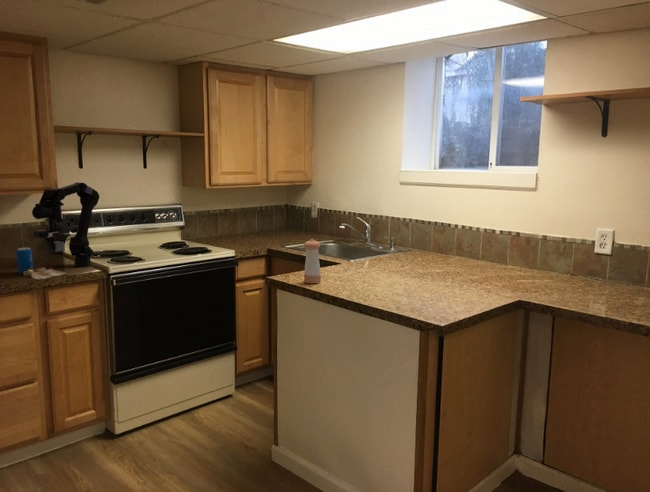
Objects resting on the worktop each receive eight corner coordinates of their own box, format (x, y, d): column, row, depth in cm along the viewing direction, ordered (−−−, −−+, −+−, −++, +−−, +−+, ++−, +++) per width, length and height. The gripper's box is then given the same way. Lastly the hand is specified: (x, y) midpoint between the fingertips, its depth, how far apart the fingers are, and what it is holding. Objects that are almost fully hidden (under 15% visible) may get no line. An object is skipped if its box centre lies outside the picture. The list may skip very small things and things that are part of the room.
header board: (52, 271, 265) (51, 265, 264) (68, 275, 258) (68, 268, 257) (23, 277, 253) (22, 271, 252) (39, 281, 246) (38, 274, 245)
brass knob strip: (29, 275, 253) (28, 268, 253) (35, 276, 251) (34, 270, 250) (25, 276, 252) (24, 269, 251) (31, 277, 249) (30, 270, 249)
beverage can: (27, 275, 257) (24, 250, 255) (15, 275, 258) (12, 249, 256) (37, 272, 263) (34, 247, 261) (25, 271, 265) (22, 247, 263)
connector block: (59, 249, 258) (58, 241, 257) (64, 250, 256) (63, 241, 255) (51, 250, 254) (50, 242, 254) (56, 251, 252) (55, 243, 252)
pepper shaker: (310, 285, 239) (309, 241, 235) (300, 281, 245) (300, 238, 241) (323, 282, 243) (323, 239, 240) (314, 279, 249) (314, 237, 245)
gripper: (45, 220, 240) (48, 255, 243) (84, 215, 256) (86, 248, 259) (30, 218, 246) (34, 252, 249) (69, 213, 262) (72, 246, 264)
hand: (57, 250), depth 255 cm, fingers closed on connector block, 4 cm apart
